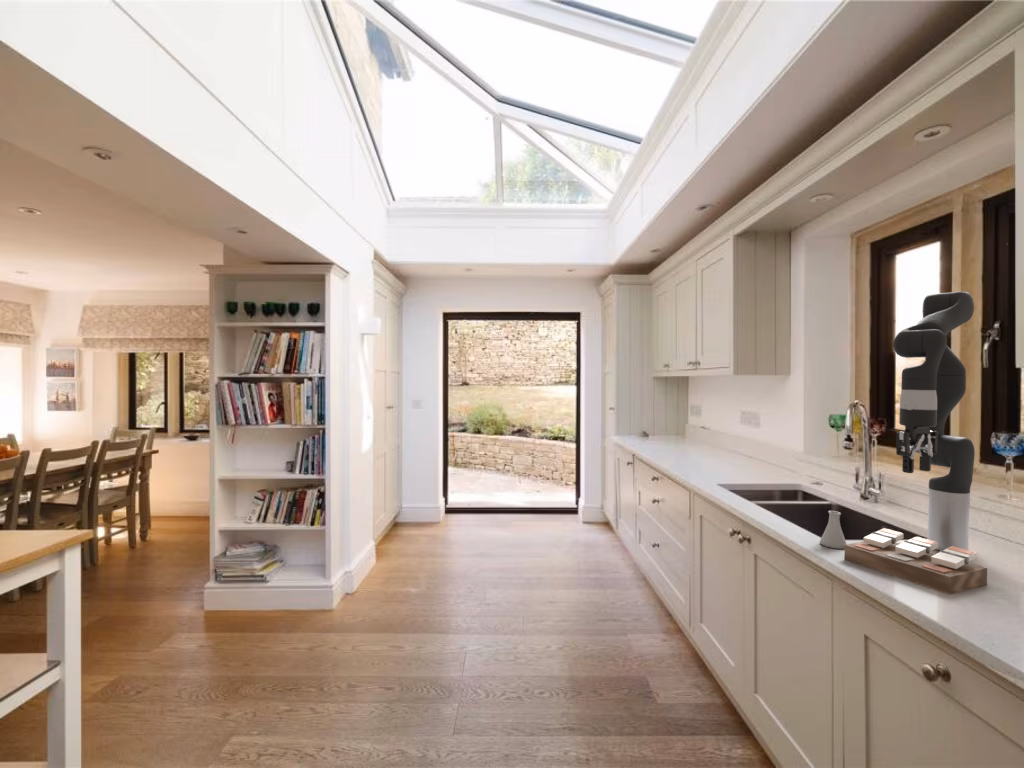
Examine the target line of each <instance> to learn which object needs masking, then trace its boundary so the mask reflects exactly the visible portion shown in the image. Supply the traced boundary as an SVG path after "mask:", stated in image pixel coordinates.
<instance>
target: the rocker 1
mask: <svg viewBox="0 0 1024 768" xmlns="http://www.w3.org/2000/svg"><path fill="white" fill-rule="evenodd" d="M903 539H904V533H902V532H900V531H896V530H893V529H889V528H884V527H883V528H881V529H879V530H877V531H873V532H871V533H870V534H868V535H866V536H864V537H863V542H865V543H868V544H872V545H875V546H878V547H882V548H884V547H887V546H889V545H891V544H895V542H896V543H898V542H900V541H901V540H903Z"/></svg>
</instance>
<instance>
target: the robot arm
mask: <svg viewBox="0 0 1024 768" xmlns="http://www.w3.org/2000/svg"><path fill="white" fill-rule="evenodd" d="M974 311H975V303H974V297H973V296H972V294H970V292H968V291H952V292H941V293H934V294H933V293H932V294H928V295H927V296H925V297H924V298H923V303H922V319H920V320H919V322H917V324H915V325H912V326H910V327H907V328H904V329H902V330H901V331H900V332H898V333H897V334H896V336H895V338H894V340H893V344H892V345H893V350H894V352H895V353H896V354H897V356H899V357H902V358H908V359H909V358H924V359H925V360H924V361H923V363H922V364H921V363H920V364H919V365H915V366H909V367H906V368H903V370H902V372H901V384H900V385H901V387H900V388H901V389H900V396H899V416H898V417H899V419H898V420H899V421H898V422H899V425H901V426H904V431H896V434H895V438H896V439H895V441H896V443H895V444H896V445H895V446H896V450H895V451H896V452H895V453H896V456H900V457H901V458H902V469H901V470H902V472H903V473H907V474H913V473H914V472H915V471H914V470H915V467H914V466H915V464H914V463H915V459H914V458H915V456H916V455H915V454H916V452H918V453H919V464H918V465H919V470H920V471H922V472H930V471H931V470H932V469H931V468H932V466H939V467H946V468H949V471H948V474H946V475H943V476H939V477H938V476H937V477H932V478H930V479H929V480H928V500H927V501H928V502H927V503H928V504H927V534H926V535H927V536H926V537H927V538H926V539H928V540H932V541H935V542H938V548H936V549H935V550H938V551H941V550H945V549H947V548H949V547H951V546H955V547H959V548H963V549H966V550H969V544H970V543H969V539H970V538H969V537H970V511H971V510H970V509H971V508H970V506H971V503H970V500H971V486H972V483H973V474H974V465H975V464H974V463H975V455H976V453H975V445H974V444H973V443H974V442H973V441H972V440H971V439H969V438H967V437H963V436H954V435H945V425H946V421H947V419H948V417H949V415H950V413H951V412H952V411H953V410H954V408H955V407H957V405H958V404H959V403H960V402H961V400H962V399H963V398H964V395H965V394H966V389H967V385H966V384H967V370H966V367H965V365H964V363H963V362H962V361H961V360H960V359H959V357H958V356H957V355H956V354H955V352H953V350H952V349H951V348H950V347H949V345H948V344H947V343H948V338H947V336H948V334H949V333H950V332H952V331H953V330H955V329H956V328H958V327H960V326H962V325H964V324H965V323H967V322H969V321H970V320H971V319H972V317H973V316H974ZM931 465H932V466H931Z"/></svg>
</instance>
